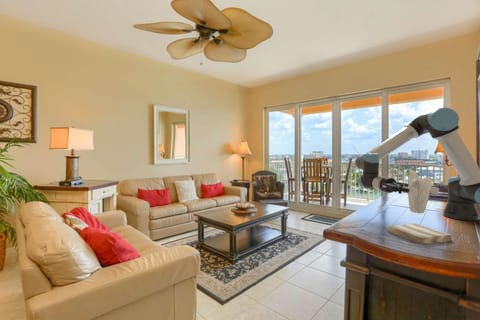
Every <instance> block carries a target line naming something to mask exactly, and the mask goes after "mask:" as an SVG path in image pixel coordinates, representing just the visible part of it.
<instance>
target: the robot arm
mask: <svg viewBox="0 0 480 320" xmlns="http://www.w3.org/2000/svg"><path fill="white" fill-rule="evenodd" d="M459 121H460V115H459V114H458V113H457V112H456V110H454V109H452V108H450V107H437V108H434V109H431V110H429V111H424V112H422V113H420V114H419V115H417V116H416V117H414V118H413V119H411V120H410V121H409V122H408V123H405V124H404V126H403V128H401V130H398V132H396V133H394V134H393V135H391V136H390V137H389V138H387V139H386V140H384V141H383V142H381V143H379V144H378V145H377V146H374V147H373V148H372V149H370V150H369V151H367V152H366V153H364V154H363V155H361V156H358V157H356V159H355V160H354V165H355V167H356V168H358V169H360V170H362V174H361V175H359V177H358V179H357V181H358V185H359V186H360V187H362V188H365V189H369V190H374V191H378V193H382V192H384V193H389V194H391V193H398V194H399V195H402V193H403V194H407V195H408V194H413V195H418V188H411V187H408V186H409V183H407V182H399V181H396V179H395V178H393V177H387V176H380V175H379V171H380V170H379V169H380V160H382V159H383V158H385V157H386V156H388V155H389V154H391V153H393V152H394V151H396V150H397V149H399V148H400V147H402V146H403V145H405V144H406V143H408V142H409V141H411V140H412V139H417V138H419V137H421V136H422V135H425V134H428V133H429V135H430V137H431V138H432V140H433V139H434V140H437V142H438V143H439V145H440V146H441V148H442V150H443V151H444V153H445V154H446V156H447V158H448V159H449V161H450V163H451V165H452V166H453V168H454V169H455V171H456V173H457V175H458V176H450V177H448V180H447V203H446V204H445V207H444V209H443V211H442V213H443V214H442V215H443V216H444V217H447V218H451V219H453V220H460V221H468V222H475V221H476V222H477V221H480V214H479V212H478V209H477V206H476V204H478V205H480V167H479V165H478V164H477V162H476V160H475V159H474V157H473V155H472V154H471V152H470V150H469V149H468V147H467V145H466V143H465V142H464V141H463V139H462V137H461V135H460V133H459V130H460V127H459ZM413 187H414V186H413ZM424 192H425V191H424ZM429 194H433V195H434V194H435V195H439V194H440V188H439V187H435V186H431V189H430V192H429Z"/></svg>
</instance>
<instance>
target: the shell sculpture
mask: <svg viewBox="0 0 480 320" xmlns="http://www.w3.org/2000/svg"><path fill="white" fill-rule="evenodd" d="M408 179H409V183H408V184H409V186H408V187H411V188H418V195H413V194H408V193H407V198H408V200H407V201H408V207H409V211H410V212H411V213H415V214H424V213H425V212H426V210H427V206H428V202H429V198H430V193H429V192H430V189H431V187H432V185H433V179H432V177H431V176H426V177H424V178H421V177H420V176H419V174H418V173H417V172H416V171H415V170H411V171H409V177H408ZM413 186H414V187H413ZM424 191H425V192H424Z"/></svg>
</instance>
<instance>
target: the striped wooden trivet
mask: <svg viewBox="0 0 480 320" xmlns="http://www.w3.org/2000/svg"><path fill="white" fill-rule="evenodd" d="M387 232H388V233H391V234H394V235H397V236H399V237H402V238H404V239H407V240H409V241H412V242H414V243H418V244H420V245H426V244H434V243H445V242H452V238H453V237H452V234H451V233H447V232H444V231H440V230H438V229H433V228H430V227H427V226H424V225H421V224H419V223H409V224H396V225H395V224H394V225H388V226H387Z"/></svg>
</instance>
